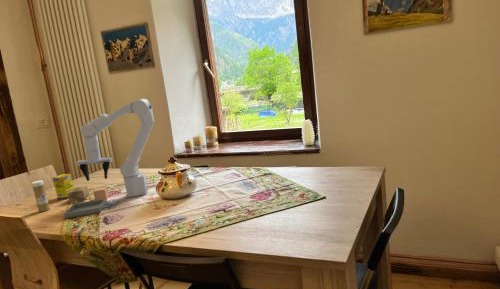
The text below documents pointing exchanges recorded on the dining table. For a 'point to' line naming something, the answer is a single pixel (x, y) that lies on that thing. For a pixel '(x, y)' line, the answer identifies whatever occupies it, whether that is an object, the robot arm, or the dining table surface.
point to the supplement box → (63, 185)
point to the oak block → (78, 194)
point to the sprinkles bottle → (40, 195)
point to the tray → (85, 208)
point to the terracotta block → (101, 193)
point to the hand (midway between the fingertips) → (97, 179)
